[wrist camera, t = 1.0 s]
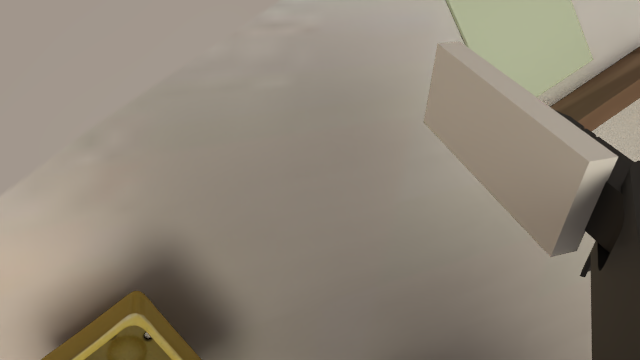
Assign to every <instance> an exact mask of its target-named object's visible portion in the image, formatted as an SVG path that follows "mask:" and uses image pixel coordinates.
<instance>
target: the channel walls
mask: <svg viewBox="0 0 640 360" xmlns="http://www.w3.org/2000/svg"><path fill="white" fill-rule="evenodd" d="M639 98H640V47H639V48H637V49H636V50H634V51H633V52H631V53H630V54H628V55H627V56H625V57H624V58H622V59H621V60H619V61H618V62H616V63H615V64H613V65H612V66H610V67H609V68H607V69H606V70H604V71H603V72H601V73H600V74H598V75H597V76H595V77H594V78H592V79H591V80H589V81H588V82H587V83H585V84H584V85H582V86H581V87H579V88H578V89H576V90H575V91H573V92H572V93H570V94H569V95H567V96H566V97H564V98H563V99H561V100H560V101H558V102H557V103H555V104H554V105H552V106H551V108H552V109H554V110H556V111H559V112H561V113H563V114H566V115H568V116H570V117H572V118H573V119H574V120H576V121H577V122H579V123H580V124H581V125H583V126H584V128H585V129H588V130H590V131H593V130H594V129H596V128H597V127H598V126H600V125H601V124H603V123H604V122H606V121H607V120H608V119H610V118H611V117H613V116H614V115H616V114H617V113H619V112H620V111H621V110H623V109H624V108H626V107H627V106H629V105H630V104H632V103H633V102H634V101H636V100H637V99H639Z"/></svg>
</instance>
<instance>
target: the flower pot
mask: <svg viewBox="0 0 640 360" xmlns="http://www.w3.org/2000/svg"><path fill="white" fill-rule="evenodd" d="M146 332H147V333H148V334H149V335H150V336H151V337H152V338H151V339H149V340H147V339H145V338H144V334H145V333H146ZM41 360H201V358H200V357H199V356H198V355H197V354H196V353H195V352H194V351H193V350H192V348H191V347H190V346H189V345H188V344H187V343H186V342H185V341H184V339H183V338H182V337H181V336H180V335H179V334H178V333H177V332H176V330H175V329H174V328H173V327H172V326H171V325H170V324H169V322H168V321H167V320H166V319H165V318H164V317H163V315H162V314H161V313H160V312H159V311H158V310H157V308H156V307H155V306H154V305H153V304H152V302H151V301H150V300H149V299H148V298H147V297H146V296H145V294H143V293H142V292H140V291H133V292H131V293H130V294H128V295H127V296H125V297H124V298H123V299H122V300H120V301H119V302H118V303H116V304H115V305H114V306H112V307H111V308H110V309H108V310H107V311H106V312H105V313H103V314H102V315H101V316H99V317H98V318H97V319H95V320H94V321H93V322H91V323H90V324H89V325H87V326H86V327H85V328H83V329H82V330H81V331H79V332H78V333H77V334H75V335H74V336H73V337H71V338H70V339H69V340H67V341H66V342H64V343H63V344H62V345H60V346H59V347H58V348H56V349H55V350H54V351H52V352H51V353H49V354H48V355H47V356H45V357H44V358H42V359H41Z"/></svg>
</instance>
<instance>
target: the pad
mask: <svg viewBox="0 0 640 360" xmlns="http://www.w3.org/2000/svg"><path fill="white" fill-rule="evenodd" d="M446 2H447V4H448V7H449V9H450V11H451V13H452V16H453V18H454V20H455V22H456V25H457V27H458V29H459V31H460V34H461V36H462V38H463V40H464V43H465V45H466V46H467V47H468V48H469V49H471V50H472V51H474V52H475V53H476V54H478V55H479V56H480V57H482V58H483V59H485V60H486V61H487V62H489V63H490V64H491V65H493V66H494V67H496V68H497V69H498V70H500V71H501V72H502V73H504V74H505V75H507V76H508V77H509V78H511V79H512V80H513V81H515V82H516V83H518V84H519V85H520V86H522V87H523V88H525V89H526V90H527V91H529V92H530V93H531V94H533V95H534V96H536V97H537V96H539V95H541V94H542V93H544V92H545V91H547V90H548V89H550V88H551V87H553V86H554V85H556V84H557V83H559V82H560V81H562V80H563V79H565V78H566V77H568V76H569V75H571V74H572V73H574V72H575V71H577V70H578V69H580V68H581V67H583V66H584V65H586V64H587V63H589V62H590V61H592V60H593V58H592V55H591V53H590V50H589V47H588V45H587V42H586V39H585V37H584V34H583V31H582V29H581V26H580V23H579V20H578V18H577V15H576V12H575V10H574V7H573V4H572V2H571V0H446Z"/></svg>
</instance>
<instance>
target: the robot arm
mask: <svg viewBox="0 0 640 360" xmlns="http://www.w3.org/2000/svg"><path fill="white" fill-rule="evenodd" d="M424 123H425V124H426V125H427V126H428V128H429V129H430V130H431V131H432V132H433V133H434V134H435V135H436V136H437V137H438V138H439V139H440V140H441V141H442V142H443V143H444V144H445V146H446V147H447V148H448V149H449V150H450V151H451V152H452V153H453V154H454V155H455V156H456V157H457V158H458V159H459V160H460V161H461V162H462V164H463V165H464V166H465V167H466V168H467V169H468V170H469V171H470V172H471V173H472V174H473V175H474V176H475V177H476V178H477V179H478V180H479V182H480V183H481V184H482V185H483V186H484V187H485V188H486V189H487V190H488V191H489V192H490V193H491V194H492V195H493V196H494V197H495V198H496V200H497V201H498V202H499V203H500V204H501V205H502V206H503V207H504V208H505V209H506V210H507V211H508V212H509V213H510V214H511V215H512V216H513V218H514V219H515V220H516V221H517V222H518V223H519V224H520V225H521V226H522V227H523V228H524V229H525V230H526V231H527V232H528V233H529V235H530V236H531V237H532V238H533V239H534V240H535V241H536V242H537V243H538V244H539V245H540V246H541V247H542V248H543V249H544V250H545V251H546V253H547V254H548V255H549V256H550V257H552V256H556V255H561V254H565V253H569V252H574V251H577V249H578V247H579V244H580V242H581V240H582V238H583V235H584V233H585V231H586V232H587V233H588V234H589V235H590V236H591V237H593V238H594V239H595V240H596V241H595V244H594V246H593V248H592V250H591V252H590V254H589V256H588V259H587V261H586V263H585V265H584V267H583V269H582V272H581V275H580V276H582V277H585V276H586V274H587V272H588V271H590V270H591V318H592V360H640V161H637V162H633V161H632V160H630V159H629V158H628V157H626V156H625V155H623V154H622V153H621V152H619V151H618V150H616V149H615V148H614V147H612V146H611V145H609V144H608V143H607V142H605V141H604V140H602V139H601V138H600V137H596V135H595V134H594V133H593V132H591V131H590V130H588V129H585V128H584V126H583V125H581V124H580V123H579V122H577V121H576V120H574V119H573V118H572V117H570V116H568V115H566V114H563V113H561V112H559V111H556V110H554V109H552V108H551V107H549V106H548V105H547V104H545V103H544V102H542V101H541V100H540V99H538V98H537V97H536V96H534V95H533V94H531V93H530V92H529V91H527V90H526V89H525V88H523V87H522V86H520V85H519V84H518V83H516V82H515V81H513V80H512V79H511V78H509V77H508V76H507V75H505V74H504V73H502V72H501V71H500V70H498V69H497V68H496V67H494V66H493V65H491V64H490V63H489V62H487V61H486V60H485V59H483V58H482V57H480V56H479V55H478V54H476V53H475V52H474V51H472V50H471V49H469V48H468V47H467V46H465V45H464V44H463V43H461V42H449V43H438V45H437V50H436V56H435V61H434V67H433V73H432V78H431V84H430V90H429V95H428V101H427V106H426V112H425V118H424Z"/></svg>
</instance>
